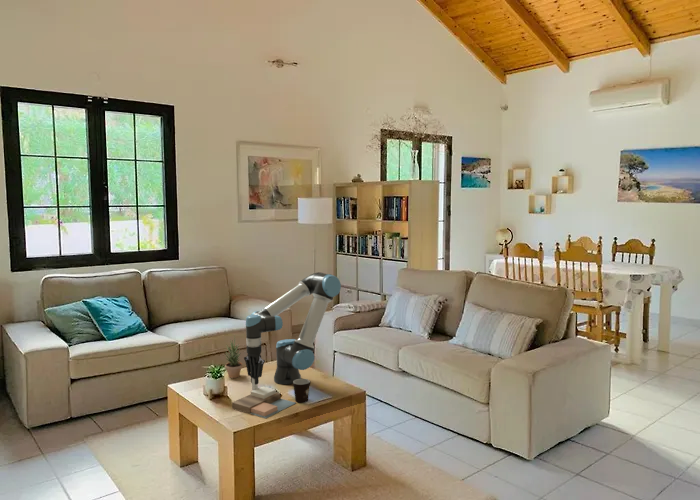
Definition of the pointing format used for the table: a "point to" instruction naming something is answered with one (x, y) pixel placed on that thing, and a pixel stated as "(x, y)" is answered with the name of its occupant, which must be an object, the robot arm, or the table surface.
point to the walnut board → (253, 402)
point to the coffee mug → (301, 390)
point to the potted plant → (233, 361)
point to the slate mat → (278, 407)
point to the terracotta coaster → (264, 409)
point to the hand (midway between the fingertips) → (255, 389)
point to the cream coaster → (263, 392)
